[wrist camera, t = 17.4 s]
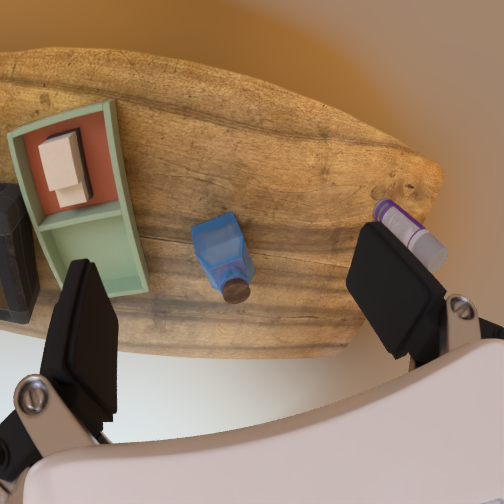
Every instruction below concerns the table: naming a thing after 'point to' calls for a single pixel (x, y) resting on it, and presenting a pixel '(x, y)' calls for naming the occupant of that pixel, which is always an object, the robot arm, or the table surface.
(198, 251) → the perfume bottle
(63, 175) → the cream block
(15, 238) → the cash box
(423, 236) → the container
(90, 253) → the tray
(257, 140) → the table surface
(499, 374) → the robot arm
